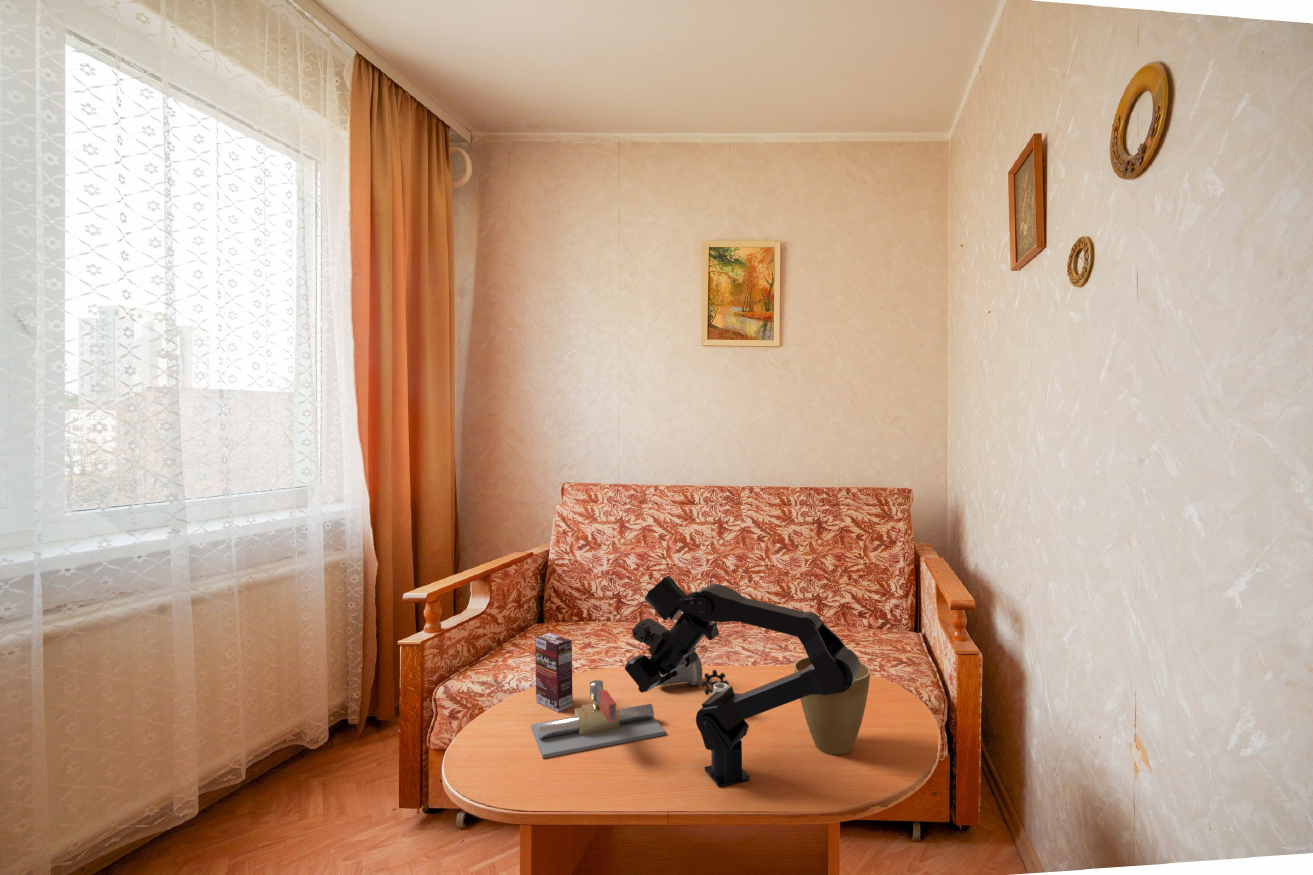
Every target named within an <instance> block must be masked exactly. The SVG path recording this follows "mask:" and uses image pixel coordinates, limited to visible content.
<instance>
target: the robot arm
mask: <svg viewBox="0 0 1313 875" xmlns="http://www.w3.org/2000/svg"><path fill="white" fill-rule="evenodd" d="M644 600H645V601H646V602H647V603H648V605H650V607H651V608H652V609H653V610H654V611H655V612H656V613H657V614H658V615H659V616H660V617H661V618H662V620H663V621H668V620H669V619H670V620H671V621H674V620H675V619H677V618H678V619H677V620H676V622H674V624H673V625H672V627H670V629H667V627H666V626H664V625H663V624H661V623H659V622H658V621H655V620H653V619H652V618H645V619H642V620H641V621H640V620H639V621H638V622H637V623H635V626H634V627H633V628H631V632H632V638H633V639H634V640H636V641H637V642H639V643H640V644H645V645H646V646H648V647H649V648H648V649H647V651H648V652H649V653H650V654H651V655H650V657H649V656H647V655H645V654H639V655H636V656H634V657H632V658H630V659H629V660H628V661H627V662H626V663H625V665H624V670H625V671H626V672H627V674H628V675H629V676H630V677H631V679H632V680H633V681H634V682H635V684H636V685H637V686H638V688H637V689H638V691H639V692H640V693H641V694H643V693H647V692H649V691H651V690H653V689H654V688H655V687H659V686H658V685H660V684H662V683H664V682H666V681H667V680H669V679H671V678H673V677H675V676H676V675H677V674H678V673H677V671H676V670H677V669H678V668H680V667H682V666H683V665H684V664H685V663H684V662H683V661H684V660H686V662H687V663H686V665H685V668H686V669H688V668H690V667H692V666H693V665H694V664H695V662H696V661H697V654H698V653H697V652H696V650H697V648H696V646H697V645H698V643H700V641H701V640H702V639H703V638H704V637H706V638H707V639H708V640H709V641H712V640H714V639H715V638H717V637H718V636H719V635H720V632H719V628H718V623H730V622H735V623H737V622H738V623H743V624H746V625H751V626H754V627H757V628H761V629H765V630H768V631H769V630H770V631H771V632H772V631H773V632H777V633H779V634H780V633H781V634H784V635H788V636H793V637H795V638H797V639H798V640H799V641H800V642H801V644H802V646H803V648H804V651H805V652H806V655H807V657H809V660H810V662H811V663H812V664H811V665H810V666H808V667H807V668H805V669H803V670H801V671H798V672H796V673H795V672H793V673H791V674H789V675H786V676H783V677H781V678H778V679H776V680H773V681H770V682H768V683H765V684H763V685H761V686H757V687H755V688H753V689H750V690H747V691H746V692H742V693H736V692H734V689H733V686H732V685H731V686H729V688H728V689H726V690H724V691H721V692H715V693H714V694H713V695H711V696H709V697H708V699H706V700H705V701H704V702H703V703H702V704H701V706H702V707H701V708H700V709H699V710H698V711H697V712H696V716H695V723H696V727H697V729H698V730H699V732H700V735H701V738H702V740H703V741H702V742H703V744H704V747H705V749H706V750H708V751H710V752H711V753H710V754H711V755H710V756H711V761H710V762H711V765H707V766H704V771H705V772H706V774H707V775H708V776H709V777H710V778H711V779H712V781H713V782H714V783H715V785H716V786H718V787H725V786H729V785H733V784H738V783H742V782H746V781H749V780H750V779H751V777H750V775H749V774H748V773H747V772H746V771H745V770H744V769H743V742H742V739H743V738H745V737H746V736H747V733H748V730H749V728H750V725H749V724H748V723H747V722H746V719H749V718H752V717H754V716H757V715H760V714H762V713H765V712H768V711H770V710H773V709H775V708H778V707H781V706H784V705H787V704H789V703H792V702H795V701H797V700H800V698H803V697H805V696H808V695H824V696H825V695H832V694H838V693H843V692H845V691H847V690H848V689H849V688H850V687H851V685H852V684H853V682H854V680H855V679H856V677H857V676H858V674H859V671H860V659H859V656H858V655H857V654H856V653H855V652H854V651H853V650H852V649H849V648H847V647H846V645H845V643H844V642H843V641H842V640H841V638H840V637H839V636H838V635H837V634H835V632H834V631H832V630H831V629H830V627H828V626H827V625H826V623H824V621H823V619H822V618H821V617H820V616H819V615H818V614H817V613H815V612H812V611H802V610H799V609H794V608H790V607H785V606H782V605H777V604H772V603H769V602H766V601H761V600H755V599H752V598H748V597H745V596H742V595H741V594H740V593H738V592H737V591H736V590H734V589H733V588H729V587H727V586H726V585H723V584H720V583H712V584H710V585H708V586H705V587H703V588H701V589H700V590H698V591H693V592H691V593H688V594H687V593H686V592H685V591H684V590H683V589H682V588H681V587H680V586H679V585H678V584H677V583H676V582H675V580H674V579H673V578H672V576H670V575H667V576H664V577H663V578H662V579H661V580H660V581H659V582H658V583H657V584H656V585H655V586H653V587H652V588H651V589H649V591H647V593H646V595H645V596H644Z"/></svg>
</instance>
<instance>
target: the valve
mask: <svg viewBox="0 0 1313 875" xmlns="http://www.w3.org/2000/svg"><path fill="white" fill-rule="evenodd" d="M711 672H712V673H711V674H709V673H708V672H706V673H704V678H705V679H706V680H704V681H703V680H702V682H701V684H700V685H701V686H702V688H705V687H706V689H705V690H704V694H705V695H706V696H709V695H710V693H712V695H713V694H714V693H715V692H721V691H724V690H726V689H728V688H729V687H730V686H729V685H730V683H729V680H724V679H725V678H726V674H725V673H724V672H720V674H718V671H717V670H716V669H713V670H712V671H711ZM713 678H717V679H719V680H720V681H718V680H716V679H714V680H712V681H711V679H713ZM709 686H711V688H710V687H709ZM712 695H711V696H712Z"/></svg>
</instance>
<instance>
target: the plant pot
mask: <svg viewBox="0 0 1313 875" xmlns="http://www.w3.org/2000/svg"><path fill="white" fill-rule="evenodd" d="M811 664H812V663H811V662H810V660H809V657H808V656H807V657H803V658H800V659H799V660H797V661H796V662H795V663H794V666H793V668H794V673H796V672H798V671H801V670H803V669H805V668H807V667H808V666H810V665H811ZM870 678H871V669H870V668H869V666H868V665H867V664H865V663H863V662H860V671H859V674H858V676H857V677H856V679H855V680H854V682H853V684H852V685H851V687H850V688H849V689H848V690H847V691H845V692H843V693H838V694H832V695H825V696H824V695H808V696H805V697H803V698H800V699H799V700H800V703H801V707H802V712H803V714H804V717H805V721H806V725H807V727H808V730H809V732H810V734H811V739H812V741H813V743H814V745H815V748H817V749H818V750H819V751H821V752H823V753H827V754H830V755H845V754H849V753H851V752H852V750H853V748H854V746H855V743H856V741H857V738H858V735H859V731H860V729H861V726H862V722H863V718H864V714H865V710H866V705H867V701H868V700H867V699H868V693H869V687H870Z"/></svg>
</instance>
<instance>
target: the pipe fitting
mask: <svg viewBox="0 0 1313 875" xmlns="http://www.w3.org/2000/svg"><path fill="white" fill-rule="evenodd" d="M683 662H684V663H685V664H684V665H683V666H682V667H680V668H678V669H677V670H676V671H677V673H678V674H677V675H676V676H675V677H673V678H671V679H669V680H667V681H666V682H664V683H662V684H660V685H658V686H657V687H659V686H668V685H674V684H680V683H681V684H682V683H687V684H689V685H690V686H698V685H699V686H700V685H701V682H702V681H703V666H702V665H703V664H702V661H701V658H700V656H699V654H698V653H697V661H696V662H695V664H694V665H693V666H692V667H690V668H688V669H686V668H685V665H686V663H687V662H686V660H684V661H683Z"/></svg>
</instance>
